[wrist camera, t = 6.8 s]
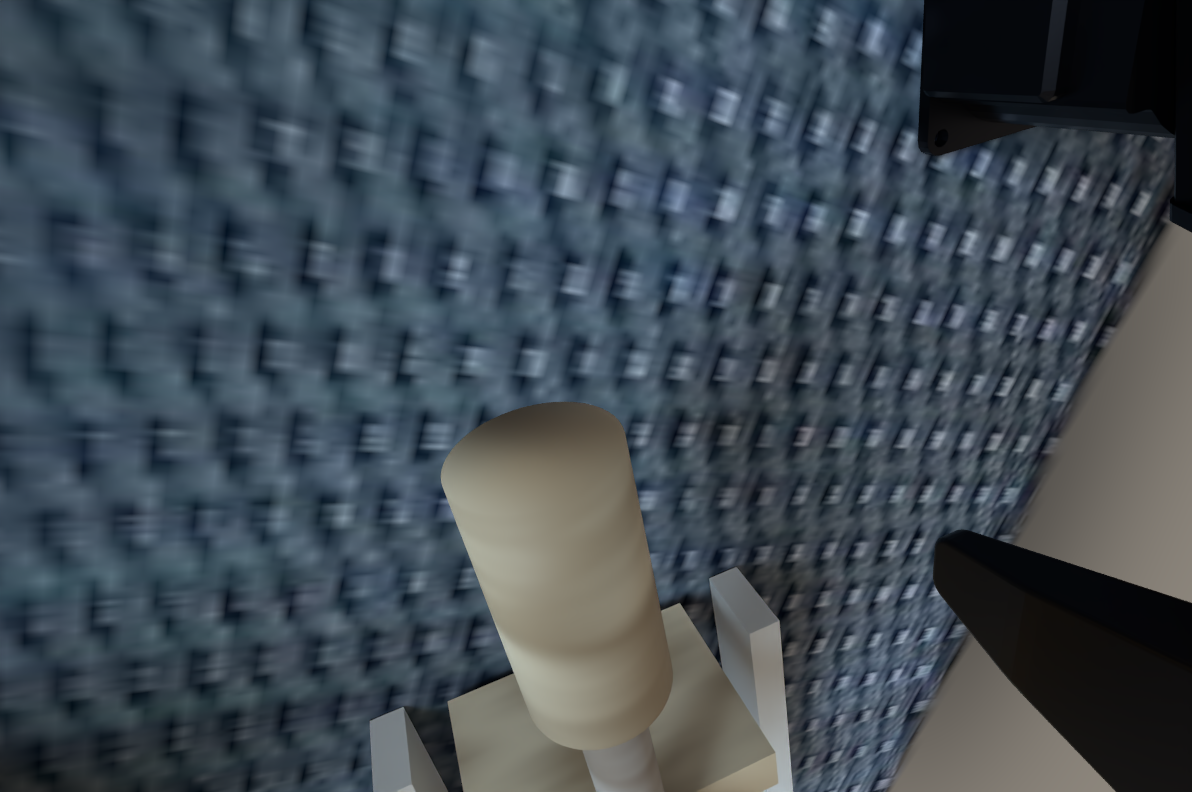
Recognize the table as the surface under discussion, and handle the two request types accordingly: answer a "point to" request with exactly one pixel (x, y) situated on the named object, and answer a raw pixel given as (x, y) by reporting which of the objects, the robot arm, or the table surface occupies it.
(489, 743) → the rod
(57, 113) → the table surface
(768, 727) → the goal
